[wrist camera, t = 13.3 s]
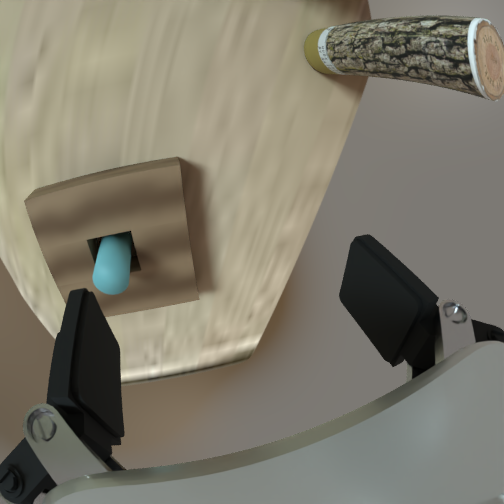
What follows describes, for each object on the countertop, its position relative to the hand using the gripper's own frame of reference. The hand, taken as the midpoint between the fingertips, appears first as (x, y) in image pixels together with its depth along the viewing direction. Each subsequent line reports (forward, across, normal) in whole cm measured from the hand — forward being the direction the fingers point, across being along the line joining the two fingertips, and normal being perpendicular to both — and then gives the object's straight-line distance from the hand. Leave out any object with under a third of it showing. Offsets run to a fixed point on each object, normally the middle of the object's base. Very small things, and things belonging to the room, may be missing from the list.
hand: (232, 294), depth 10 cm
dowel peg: (+28, +10, +12) cm, 32 cm away
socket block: (+28, +10, +12) cm, 32 cm away
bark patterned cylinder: (+28, -20, -12) cm, 37 cm away
